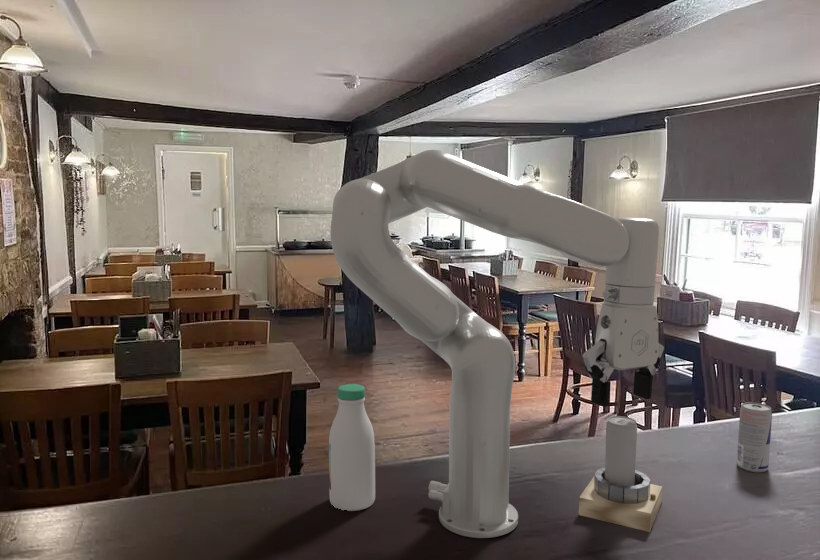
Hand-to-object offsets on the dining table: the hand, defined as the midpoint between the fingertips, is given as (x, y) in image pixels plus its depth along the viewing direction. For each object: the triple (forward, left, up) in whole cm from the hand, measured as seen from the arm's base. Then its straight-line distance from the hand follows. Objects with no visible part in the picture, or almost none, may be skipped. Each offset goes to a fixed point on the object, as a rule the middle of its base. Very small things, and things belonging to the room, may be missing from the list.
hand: (621, 400), depth 105 cm
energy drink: (+19, +30, -19) cm, 40 cm away
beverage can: (0, +1, -16) cm, 16 cm away
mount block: (+1, 0, -19) cm, 19 cm away
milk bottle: (-39, -20, -19) cm, 48 cm away
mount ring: (+1, 0, -15) cm, 16 cm away
